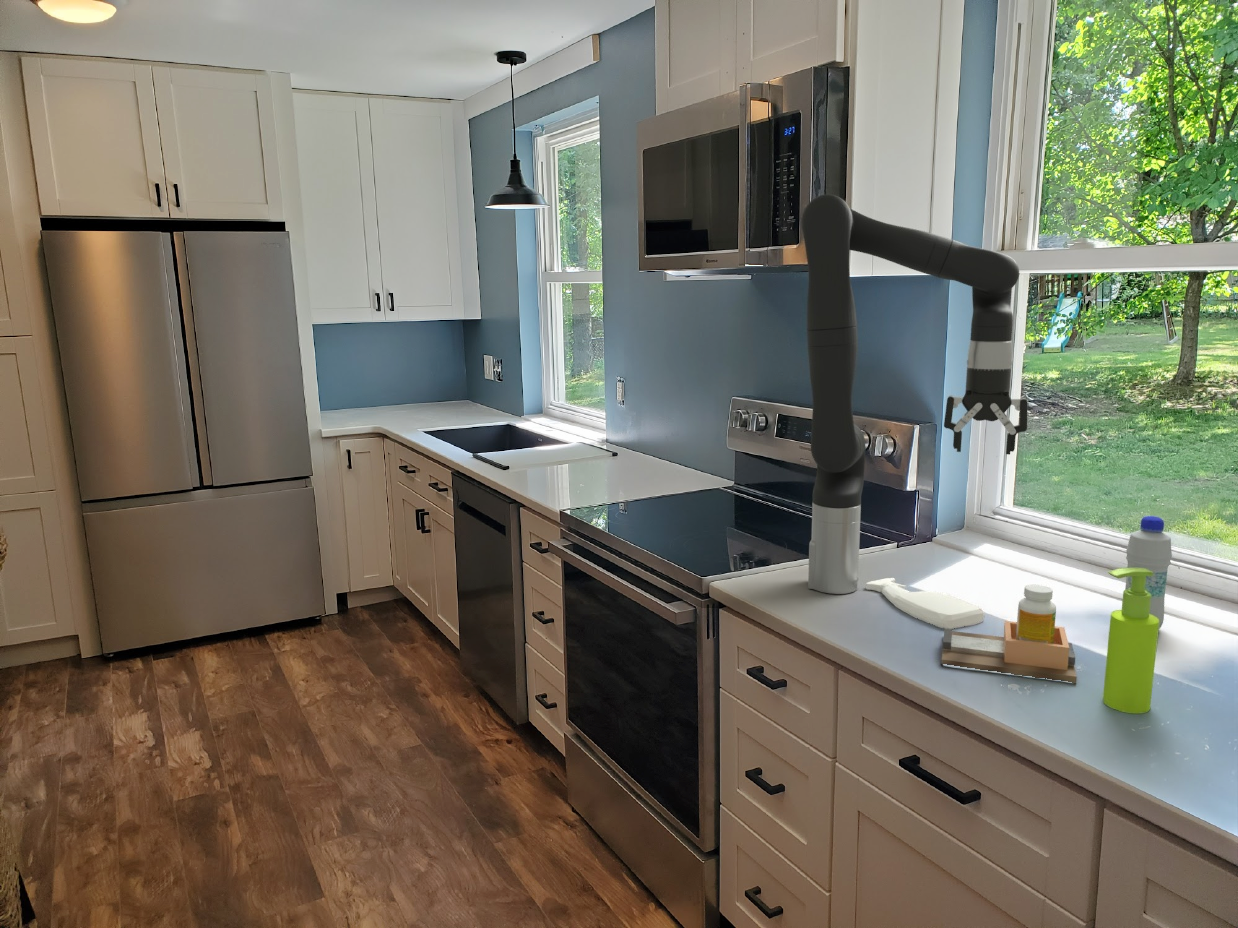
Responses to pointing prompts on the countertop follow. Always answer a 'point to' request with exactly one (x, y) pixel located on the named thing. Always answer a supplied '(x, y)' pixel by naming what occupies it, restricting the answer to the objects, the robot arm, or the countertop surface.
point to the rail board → (1003, 663)
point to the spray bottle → (930, 605)
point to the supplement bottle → (1036, 615)
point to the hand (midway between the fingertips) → (983, 452)
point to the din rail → (983, 646)
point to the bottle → (1151, 560)
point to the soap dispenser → (1131, 647)
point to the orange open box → (1036, 649)
